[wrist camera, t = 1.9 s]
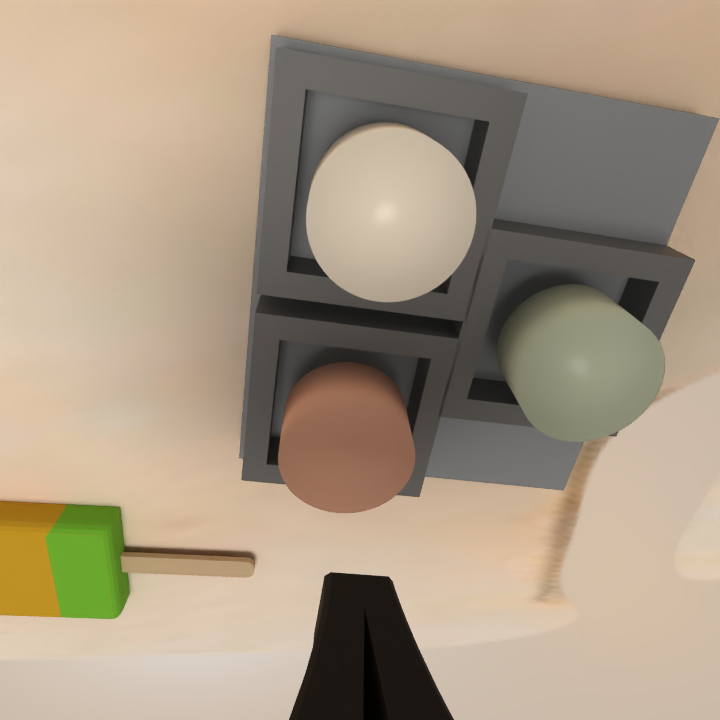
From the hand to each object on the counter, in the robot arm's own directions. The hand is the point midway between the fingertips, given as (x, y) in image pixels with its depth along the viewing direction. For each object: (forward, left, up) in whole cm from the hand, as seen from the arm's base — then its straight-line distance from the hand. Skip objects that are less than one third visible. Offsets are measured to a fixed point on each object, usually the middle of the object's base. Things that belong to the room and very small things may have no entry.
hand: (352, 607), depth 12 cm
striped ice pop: (+10, +10, -11) cm, 18 cm away
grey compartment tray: (-3, -4, -10) cm, 11 cm away
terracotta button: (0, 0, -7) cm, 7 cm away
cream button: (0, -7, -7) cm, 10 cm away
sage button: (-6, -3, -7) cm, 10 cm away
